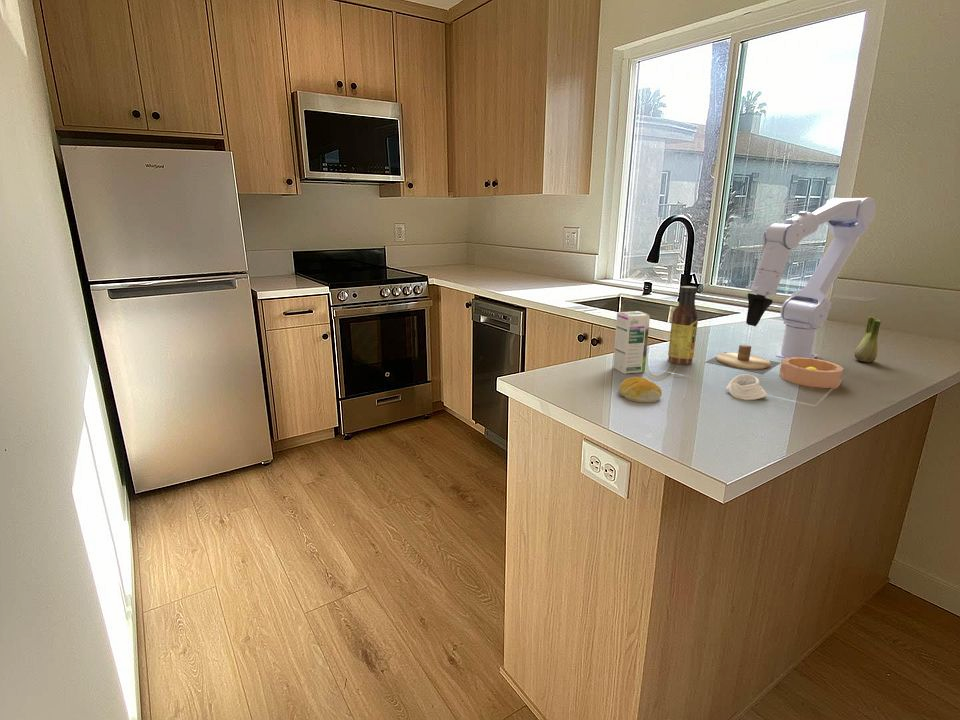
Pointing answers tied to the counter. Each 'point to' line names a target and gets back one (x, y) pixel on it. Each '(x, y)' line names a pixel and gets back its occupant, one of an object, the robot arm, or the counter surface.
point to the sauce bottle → (684, 328)
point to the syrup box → (631, 341)
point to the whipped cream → (746, 387)
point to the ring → (811, 372)
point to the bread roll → (640, 390)
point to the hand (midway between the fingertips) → (751, 325)
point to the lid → (743, 359)
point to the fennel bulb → (868, 342)
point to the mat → (760, 371)
